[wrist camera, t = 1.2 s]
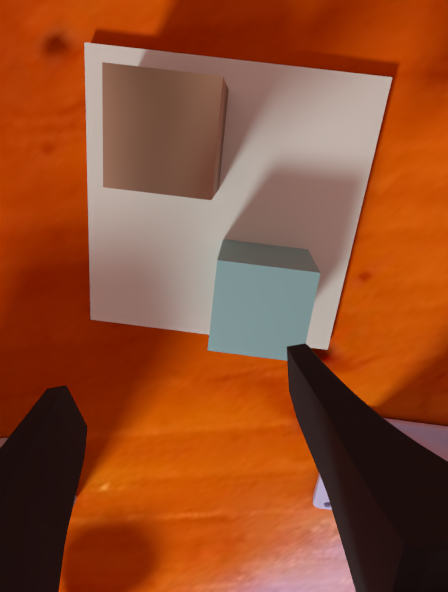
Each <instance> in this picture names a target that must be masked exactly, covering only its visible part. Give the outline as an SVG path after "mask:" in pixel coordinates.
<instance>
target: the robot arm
mask: <svg viewBox="0 0 448 592" xmlns="http://www.w3.org/2000/svg"><path fill="white" fill-rule="evenodd" d="M287 361H288V379H289V392H290V395H291V399H292V403H293V406H294V410H295V413H296V417H297V420H298V422H299V425H300V427H301V430H302V432H303V435H304V437H305V440H306V442H307V445H308V447H309V449H310V452H311V454H312V457H313V459H314V462H315V464H316V467H317V469H318V471H319V476H318V480H317V484H316V488H315V491H314V495H313V504H314V506H315V507H317V508H321V509H329V510H332V511H333V514H334V518H335V521H336V524H337V527H338V531H339V534H340V538H341V541H342V544H343V548H344V551H345V554H346V558H347V561H348V565H349V568H350V572H351V575H352V579H353V584H354V588H355V592H448V426H440V425H433V424H425V423H417V422H409V421H402V420H394V419H386V418H383V417H382V416H380V415H379V414H378V413H377V412H375V411H374V410H373V409H372V408H370V407H369V406H368V405H367V404H366V403H365V402H363V401H362V400H361V399H360V398H359V397H358V396H357V395H356V394H354V393H353V392H352V391H351V390H350V389H349V388H348V387H347V386H346V385H345V384H344V383H343V382H342V381H341V380H340V379H339V378H338V377H337V376H336V375H335V374H334V373H333V372H332V371H331V370H330V369H329V368H328V367H327V366H326V365H325V364H324V363H323V362H322V361H321V360H320V358H319V357H318V356H317V355H316V354H315V353H314V352H313V350H312V349H311V348H310V347H309V346H308V345H307V344H305V343H304V344H299V345H293V346H287ZM86 435H87V425H86V423H85V421H84V419H83V417H82V415H81V413H80V411H79V409H78V407H77V405H76V403H75V401H74V400H73V398H72V396H71V394H70V392H69V390H68V388H67V386H60V387H54V388H49V389H47V390H46V391H45V392H44V394H43V395H42V396H41V397H40V399H39V400H38V401H37V402H36V404H35V405H34V406H33V408H32V409H31V410H30V411H29V413H28V414H27V415H26V417H25V418H24V419H23V420H22V422H21V423H20V424H19V425H18V427H17V428H16V429H15V430H14V432H13V433H12V434H11V435H10V437H9V438H8V439H7V440H6V442H5V443H4V444H3V445H2V446H1V448H0V592H58V591H59V582H60V574H61V567H62V560H63V552H64V545H65V540H66V535H67V529H68V525H69V521H70V517H71V512H72V508H73V504H74V500H75V495H76V491H77V487H78V483H79V478H80V474H81V470H82V465H83V460H84V454H85V446H86Z"/></svg>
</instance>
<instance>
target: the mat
mask: <svg viewBox="0 0 448 592" xmlns="http://www.w3.org/2000/svg"><path fill="white" fill-rule="evenodd" d="M84 46H85V92H86V138H87V184H88V230H89V276H90V320H98V321H106V322H113V323H121V324H129V325H137V326H145V327H153V328H161V329H169V330H176V331H184V332H192V333H200V334H208V335H209V332H210V323H211V314H212V304H213V295H214V285H215V276H216V267H217V259H218V256H219V252H220V248H221V245H222V241H223V239H227V240H235V241H243V242H252V243H260V244H268V245H276V246H284V247H293V248H301V249H308V251H309V253H310V254H311V256H312V258H313V260H314V262H315V264H316V265H317V267H318V269H319V271H320V278H319V283H318V287H317V292H316V297H315V301H314V306H313V311H312V316H311V320H310V325H309V330H308V334H307V339H306V344H307V345H308V346H309V347H311V348H318V349H326V350H328V346H329V342H330V338H331V334H332V329H333V325H334V321H335V317H336V313H337V308H338V304H339V300H340V296H341V292H342V287H343V283H344V279H345V275H346V271H347V266H348V262H349V258H350V254H351V250H352V245H353V241H354V237H355V233H356V229H357V224H358V220H359V216H360V212H361V208H362V203H363V199H364V195H365V191H366V187H367V182H368V178H369V174H370V170H371V166H372V161H373V157H374V153H375V149H376V145H377V140H378V136H379V132H380V128H381V124H382V119H383V115H384V111H385V107H386V103H387V98H388V94H389V90H390V86H391V82H392V77H386V76H377V75H368V74H360V73H351V72H342V71H333V70H324V69H315V68H307V67H298V66H289V65H280V64H271V63H262V62H254V61H245V60H236V59H227V58H218V57H209V56H201V55H192V54H183V53H174V52H165V51H157V50H148V49H139V48H130V47H121V46H112V45H104V44H95V43H86V42H84ZM102 62H105V63H114V64H123V65H131V66H140V67H149V68H158V69H166V70H175V71H184V72H193V73H201V74H210V75H219V76H223V77H224V80H225V82H226V85H227V87H228V90H229V92H228V102H227V112H226V122H225V132H224V142H223V152H222V162H221V172H220V182H219V190H218V191H217V193H216V194H215V196H214V197H213V199H212V200H205V199H196V198H188V197H180V196H171V195H163V194H155V193H146V192H138V191H130V190H122V189H113V188H105V187H103V106H102Z"/></svg>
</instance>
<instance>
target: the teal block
mask: <svg viewBox="0 0 448 592" xmlns="http://www.w3.org/2000/svg"><path fill="white" fill-rule="evenodd" d="M319 278H320V271H319V269H318V267H317V265H316V264H315V262H314V260H313V258H312V256H311V254H310V253H309V251H308V249H301V248H293V247H284V246H276V245H268V244H260V243H252V242H243V241H235V240H227V239H223V241H222V245H221V248H220V252H219V256H218V259H217V267H216V276H215V285H214V295H213V304H212V314H211V323H210V332H209V342H208V351H216V352H224V353H232V354H240V355H248V356H255V357H263V358H271V359H279V360H287V346H293V345H299V344H304V343H305V344H306V339H307V334H308V330H309V325H310V320H311V316H312V311H313V306H314V301H315V297H316V292H317V287H318V283H319Z"/></svg>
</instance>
